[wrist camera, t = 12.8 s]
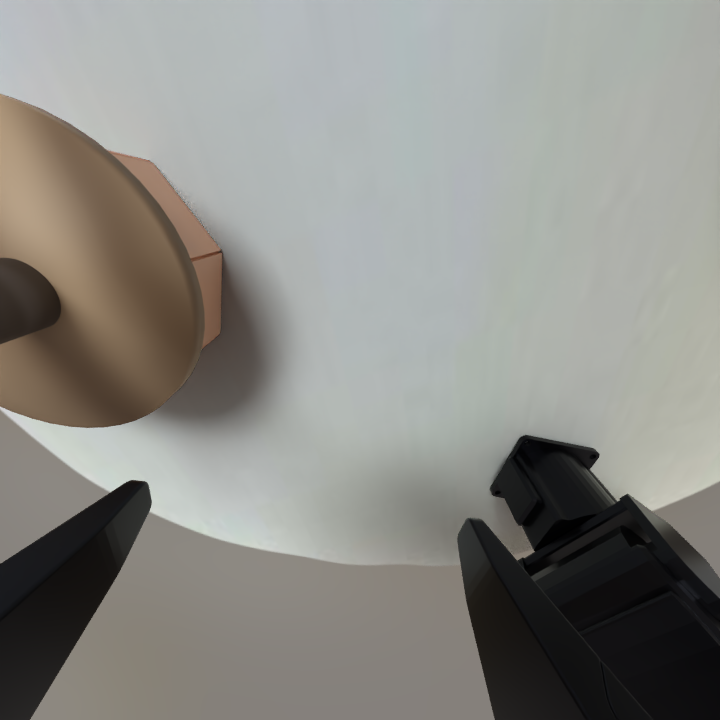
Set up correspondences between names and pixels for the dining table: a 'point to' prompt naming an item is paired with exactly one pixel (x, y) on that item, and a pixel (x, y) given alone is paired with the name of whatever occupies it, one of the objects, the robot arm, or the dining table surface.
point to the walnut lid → (87, 281)
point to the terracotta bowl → (186, 239)
